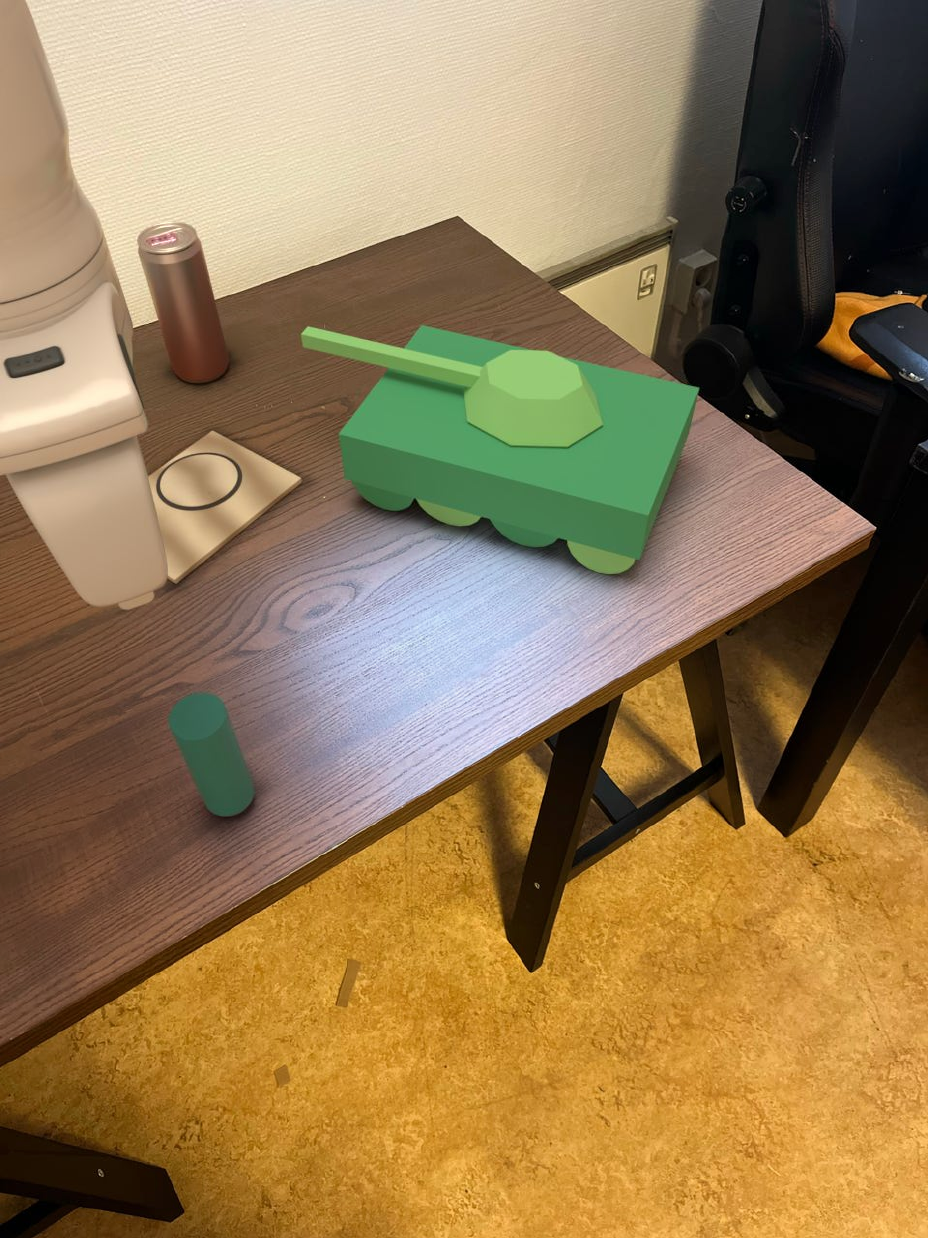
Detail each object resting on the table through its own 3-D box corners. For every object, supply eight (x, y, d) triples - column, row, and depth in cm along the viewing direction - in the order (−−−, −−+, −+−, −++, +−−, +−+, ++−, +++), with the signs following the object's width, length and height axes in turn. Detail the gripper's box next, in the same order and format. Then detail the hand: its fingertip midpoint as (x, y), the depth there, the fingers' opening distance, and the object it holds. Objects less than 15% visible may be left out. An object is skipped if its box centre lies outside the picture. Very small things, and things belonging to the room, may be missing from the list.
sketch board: (176, 584, 81) (173, 578, 81) (85, 526, 86) (83, 520, 85) (302, 482, 89) (301, 476, 89) (213, 434, 94) (212, 428, 93)
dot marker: (232, 832, 66) (195, 749, 58) (196, 805, 68) (156, 720, 59) (267, 796, 68) (238, 710, 60) (232, 770, 69) (198, 683, 61)
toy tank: (345, 273, 90) (707, 351, 81) (357, 380, 99) (683, 461, 91) (251, 377, 80) (655, 479, 71) (274, 486, 89) (633, 588, 80)
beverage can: (168, 361, 102) (128, 228, 90) (221, 347, 103) (189, 215, 92) (181, 391, 98) (142, 258, 87) (237, 376, 100) (205, 243, 88)
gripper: (-86, 222, 46) (21, 444, 56) (-22, 475, 34) (97, 695, 45) (47, 192, 47) (126, 414, 58) (151, 423, 36) (226, 647, 46)
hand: (114, 538), depth 51 cm, fingers open, 8 cm apart
